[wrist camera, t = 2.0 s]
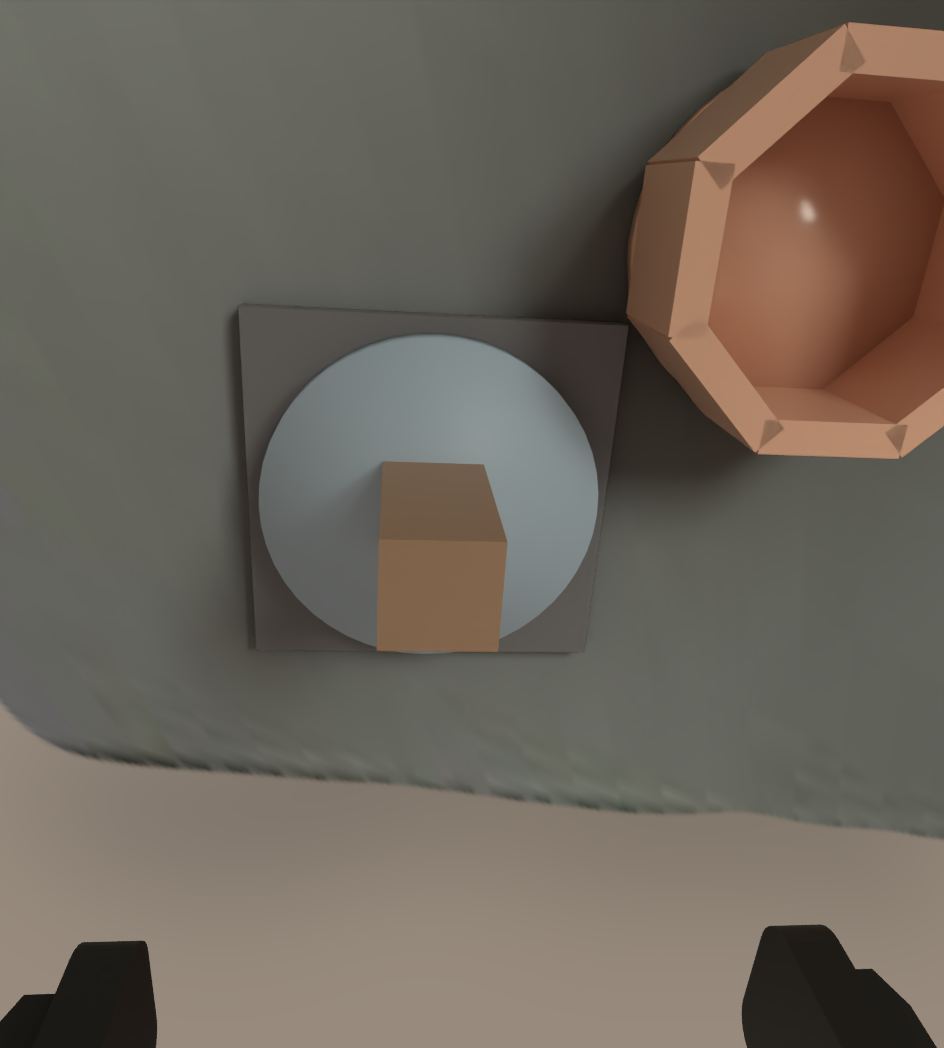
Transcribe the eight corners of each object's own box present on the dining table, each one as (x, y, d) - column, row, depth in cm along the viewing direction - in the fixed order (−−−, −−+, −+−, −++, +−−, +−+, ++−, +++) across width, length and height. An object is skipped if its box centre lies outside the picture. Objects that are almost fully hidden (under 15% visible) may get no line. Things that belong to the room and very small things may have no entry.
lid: (611, 341, 25) (684, 395, 19) (572, 640, 29) (621, 767, 23) (256, 323, 24) (204, 374, 18) (269, 637, 28) (231, 771, 22)
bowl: (993, 75, 23) (1137, 48, 19) (898, 416, 28) (998, 462, 23) (653, 46, 22) (719, 9, 18) (607, 404, 26) (650, 450, 22)
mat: (623, 322, 25) (628, 325, 25) (581, 643, 30) (584, 652, 30) (241, 303, 24) (238, 306, 24) (258, 641, 29) (256, 650, 28)
